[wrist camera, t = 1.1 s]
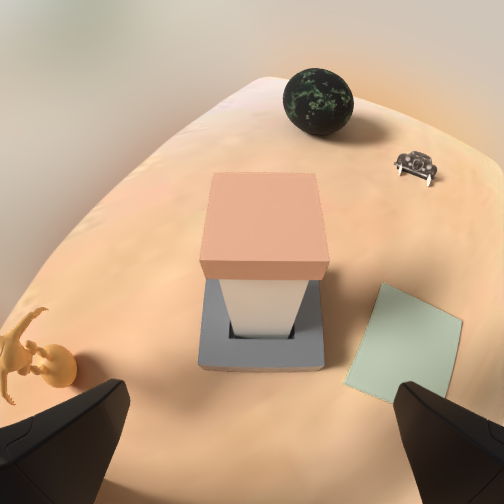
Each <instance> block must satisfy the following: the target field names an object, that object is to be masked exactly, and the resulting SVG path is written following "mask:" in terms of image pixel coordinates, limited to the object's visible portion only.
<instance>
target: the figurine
mask: <svg viewBox="0 0 504 504" xmlns="http://www.w3.org/2000/svg"><path fill="white" fill-rule="evenodd" d="M44 310H48V309H47V308H44V307H40V308H37V309H35V310H34V311H33V312H30V313H29V314H27V315H26V316H25V317H24V318H23V319H22V320H21V321H20V322H19V323H18V325H17V326H16V327H15V328H14V329H12V330H11V331H10V332H9V333H8V334H6V335H4V336H0V392H1V395H2V397H3V398H4V399H5V400H6V401H7V402H8V403H9V404H11V405H16V404H13V403H14V401H12V398H11V399H10V395H8V394H7V374H8V373H9V372H13V371H17V373H18V374H20V375H23V376H25V375H27V374H29V373H30V371H31V372H32V373H33V374H35V375H41V377H42V378H43V380H44V381H45V382H46V383H48V384H49V385H51V386H53V387H56V388H65V387H67V386H69V385H70V384H72V383H73V381H74V380H75V378H76V375H77V364H76V361H75V359H74V357H73V355H72V354H71V353H70V351H68V350H67V349H66V348H64V347H63V346H60V345H55V344H53V345H48V346H46V347H44V348H40V347H37V345H36V343H35V342H32V341H29V340H28V341H26V342H25V346H24V347H23V346H22V345H21V343H20V342H19V339H20V336H21V335H22V333H23V332H24V331H25V329H26V328H27V327H28V325H29V324H30V322H31V321H32V319H34V318H36V317H37V316H38V315H40V313H41V312H42V311H44ZM36 352H37V353H38V359H37V366H32V365H31V363H32V356H33V355H35V353H36Z"/></svg>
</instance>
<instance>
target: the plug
mask: <svg viewBox="0 0 504 504" xmlns="http://www.w3.org/2000/svg"><path fill="white" fill-rule="evenodd" d="M199 261H200V264H201V267H202V269H203V272H204V275H205V278H206V279H219V282H220V286H221V290H222V293H223V297H224V300H225V304H226V307H227V311H228V314H229V317H230V321H231V324H232V328H233V331H234V334H235V338H236V339H288V337H289V334H290V331H291V329H292V326H293V323H294V321H295V318H296V315H297V313H298V310H299V307H300V304H301V302H302V299H303V296H304V293H305V290H306V287H307V285H308V282H309V280H322V279H323V277H324V274H325V272H326V270H327V267H328V265H329V262H330V259H329V252H328V245H327V238H326V232H325V225H324V219H323V213H322V208H321V202H320V197H319V191H318V186H317V181H316V176H315V174H305V173H267V172H237V173H214V174H213V179H212V185H211V190H210V196H209V201H208V207H207V213H206V219H205V225H204V232H203V238H202V245H201V251H200V258H199Z"/></svg>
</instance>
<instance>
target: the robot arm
mask: <svg viewBox="0 0 504 504" xmlns="http://www.w3.org/2000/svg"><path fill="white" fill-rule="evenodd" d="M129 406H130V396H129V393H128V390H127V387H126V384H125V382H124V381H123V380H120V379H115V378H112V379H110V380H108V381H106V382H104V383H102V384H100V385H98V386H96V387H94V388H92V389H90V390H88V391H86V392H84V393H82V394H80V395H77V396H75V397H73V398H71V399H69V400H67V401H65V402H63V403H60V404H58V405H56V406H54V407H52V408H50V409H47V410H45V411H43V412H41V413H38V414H36V415H34V416H32V417H29V418H27V419H25V420H22V421H20V422H17V423H15V424H12V425H9V426H6V427H2V428H0V504H94V502H95V499H96V496H97V494H98V491H99V489H100V486H101V484H102V481H103V478H104V476H105V473H106V471H107V469H108V466H109V464H110V461H111V459H112V456H113V454H114V452H115V449H116V447H117V445H118V442H119V439H120V436H121V433H122V430H123V426H124V423H125V420H126V416H127V413H128V410H129ZM393 407H394V411H395V415H396V419H397V423H398V427H399V431H400V435H401V439H402V442H403V445H404V448H405V451H406V454H407V457H408V460H409V462H410V465H411V468H412V471H413V474H414V477H415V480H416V483H417V487H418V490H419V493H420V496H421V499H422V503H423V504H504V427H503V426H501V425H498V424H496V423H494V422H492V421H490V420H487V419H486V418H484V417H481V416H479V415H477V414H475V413H473V412H471V411H469V410H467V409H465V408H463V407H461V406H459V405H457V404H455V403H453V402H451V401H449V400H447V399H446V398H444V397H442V396H440V395H438V394H436V393H434V392H432V391H430V390H428V389H426V388H424V387H423V386H421V385H419V384H417V383H415V382H413V381H407V382H402V383H401V384H400V385H399V387H398V390H397V393H396V396H395V398H394V402H393Z"/></svg>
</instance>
